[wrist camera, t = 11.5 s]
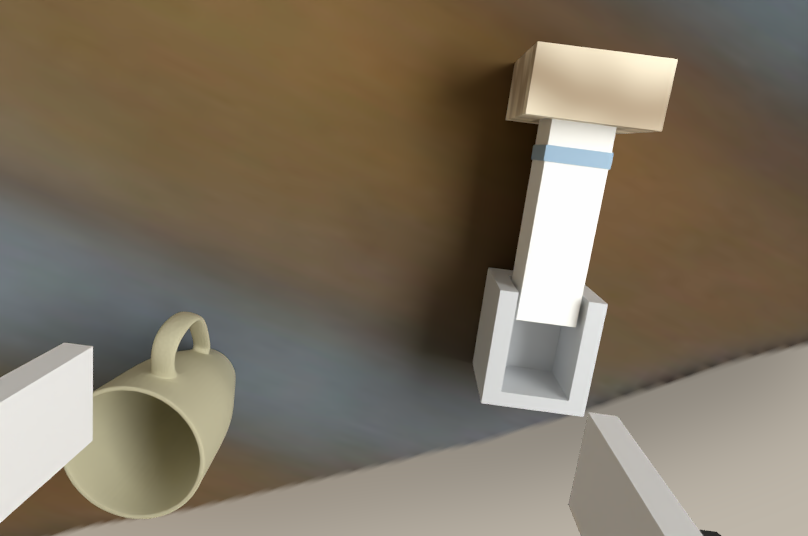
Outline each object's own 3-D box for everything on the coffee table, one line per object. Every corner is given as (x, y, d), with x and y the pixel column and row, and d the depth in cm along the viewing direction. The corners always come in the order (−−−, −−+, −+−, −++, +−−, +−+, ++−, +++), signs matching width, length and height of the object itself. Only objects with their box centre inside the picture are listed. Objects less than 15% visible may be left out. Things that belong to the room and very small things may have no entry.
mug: (289, 399, 46) (242, 486, 34) (184, 440, 47) (104, 538, 35) (229, 280, 44) (158, 329, 32) (121, 326, 45) (14, 389, 33)
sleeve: (488, 267, 43) (500, 290, 36) (578, 279, 43) (607, 304, 36) (472, 363, 44) (481, 403, 38) (558, 375, 44) (583, 416, 38)
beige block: (514, 62, 40) (537, 41, 32) (626, 76, 39) (677, 59, 31) (505, 120, 40) (525, 113, 32) (614, 134, 40) (661, 131, 32)
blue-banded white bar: (542, 92, 38) (556, 86, 34) (603, 100, 38) (625, 94, 34) (506, 302, 41) (515, 319, 37) (562, 310, 41) (577, 328, 37)
